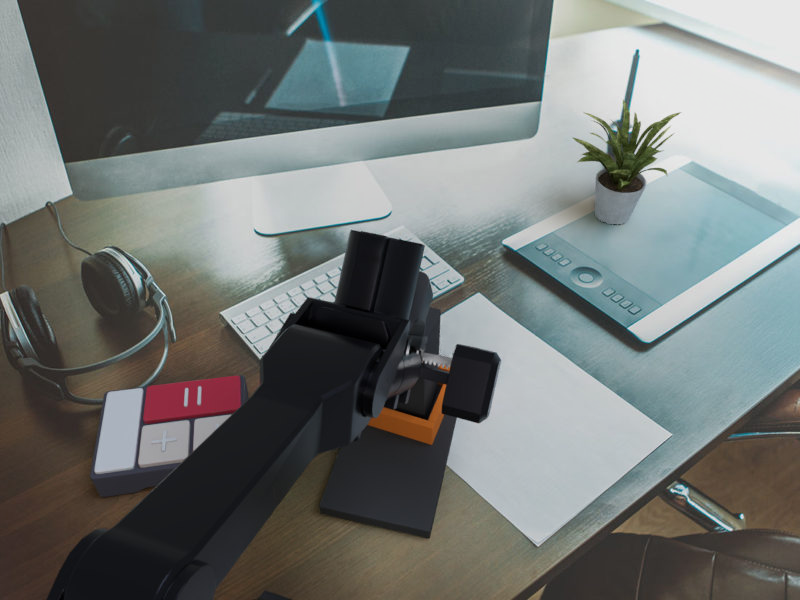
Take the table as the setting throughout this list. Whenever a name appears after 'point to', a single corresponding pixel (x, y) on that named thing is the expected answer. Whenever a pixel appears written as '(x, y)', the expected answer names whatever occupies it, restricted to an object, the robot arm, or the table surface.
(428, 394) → the dark gray block
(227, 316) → the table surface
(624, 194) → the house plant
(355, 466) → the base pad
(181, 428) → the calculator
